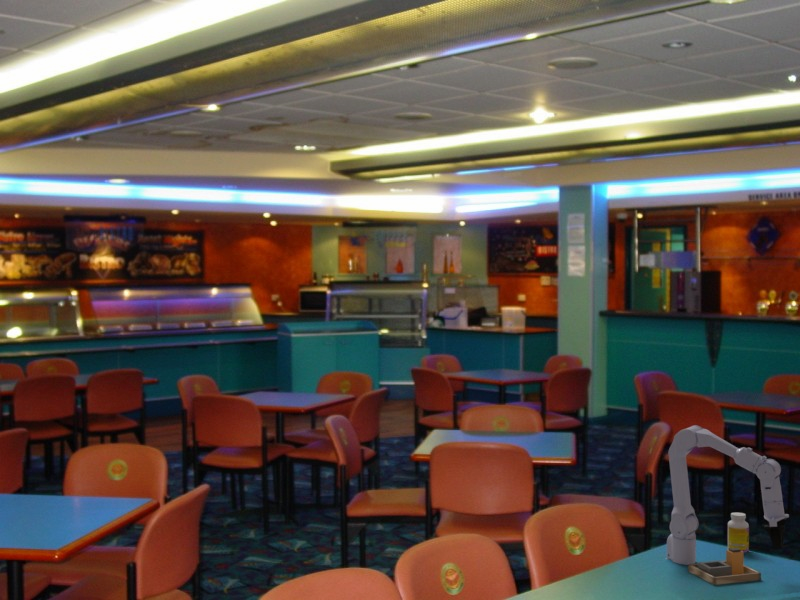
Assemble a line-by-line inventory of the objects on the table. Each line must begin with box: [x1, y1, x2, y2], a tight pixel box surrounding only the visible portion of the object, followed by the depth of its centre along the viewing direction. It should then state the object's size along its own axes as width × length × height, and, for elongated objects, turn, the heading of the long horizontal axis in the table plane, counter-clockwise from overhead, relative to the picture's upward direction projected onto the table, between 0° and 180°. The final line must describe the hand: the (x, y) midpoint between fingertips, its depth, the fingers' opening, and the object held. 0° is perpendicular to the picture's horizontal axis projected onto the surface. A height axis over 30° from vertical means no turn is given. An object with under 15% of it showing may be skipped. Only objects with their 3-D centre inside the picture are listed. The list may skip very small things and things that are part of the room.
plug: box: [725, 548, 745, 575], centre depth 306 cm, size 3×4×8 cm
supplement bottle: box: [727, 512, 750, 553], centre depth 332 cm, size 7×7×13 cm
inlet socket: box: [697, 560, 732, 577], centre depth 304 cm, size 6×7×4 cm
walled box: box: [687, 560, 762, 586], centre depth 305 cm, size 14×16×3 cm
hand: (778, 545), depth 302 cm, fingers open, 7 cm apart
